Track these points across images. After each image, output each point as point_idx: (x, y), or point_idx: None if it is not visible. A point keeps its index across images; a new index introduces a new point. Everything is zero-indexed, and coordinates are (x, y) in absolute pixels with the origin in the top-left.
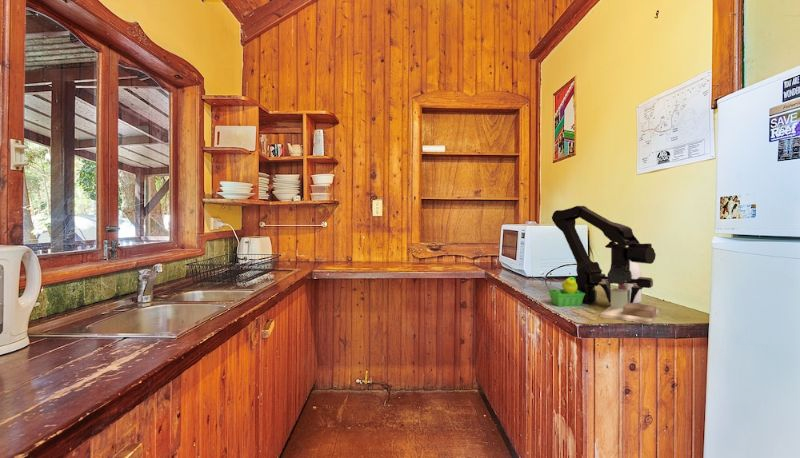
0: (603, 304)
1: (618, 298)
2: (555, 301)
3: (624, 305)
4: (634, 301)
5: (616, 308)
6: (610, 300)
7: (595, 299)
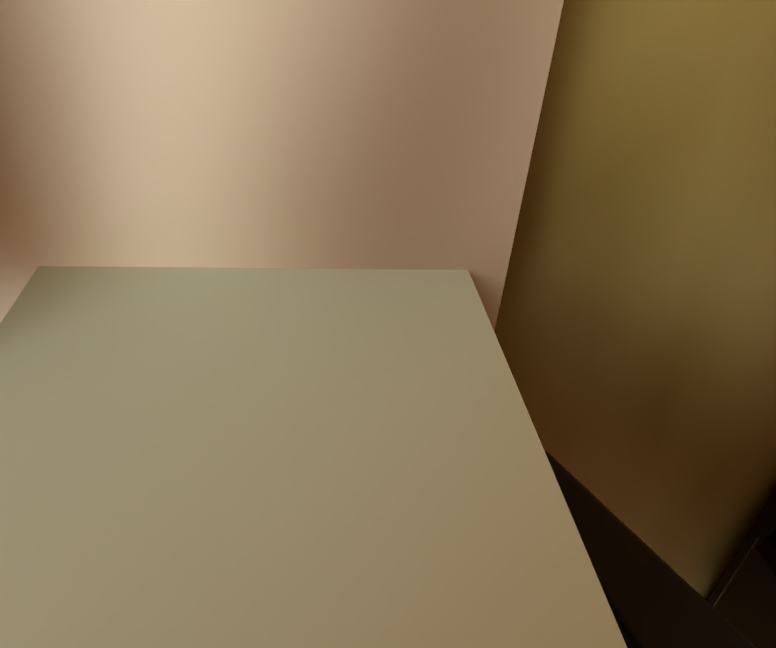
0: None
1: (253, 495)
2: None
3: (79, 325)
4: None
5: (300, 165)
6: None
7: (759, 597)
